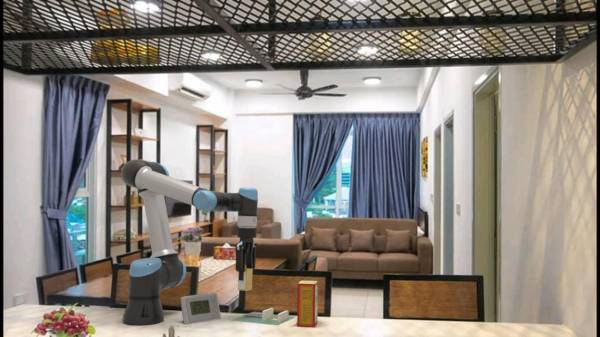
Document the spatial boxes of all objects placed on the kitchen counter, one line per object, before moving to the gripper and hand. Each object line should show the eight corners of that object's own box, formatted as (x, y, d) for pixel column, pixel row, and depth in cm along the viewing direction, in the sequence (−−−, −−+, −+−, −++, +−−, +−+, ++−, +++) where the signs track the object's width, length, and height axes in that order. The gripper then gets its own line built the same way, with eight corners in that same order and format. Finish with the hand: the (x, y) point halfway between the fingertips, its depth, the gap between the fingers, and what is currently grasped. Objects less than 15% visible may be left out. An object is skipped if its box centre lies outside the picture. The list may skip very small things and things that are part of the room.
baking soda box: (300, 321, 188) (301, 279, 189) (317, 322, 187) (317, 279, 189) (297, 326, 178) (297, 282, 180) (314, 327, 178) (315, 283, 179)
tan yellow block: (237, 290, 186) (238, 268, 186) (243, 288, 189) (243, 267, 190) (246, 290, 184) (247, 268, 185) (252, 289, 188) (252, 267, 188)
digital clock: (183, 328, 174) (184, 298, 175) (175, 323, 182) (176, 294, 183) (225, 323, 183) (225, 294, 184) (215, 319, 191) (216, 291, 192)
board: (229, 323, 183) (230, 310, 183) (251, 315, 198) (251, 303, 199) (277, 328, 175) (277, 315, 175) (296, 319, 190) (296, 307, 191)
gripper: (244, 227, 180) (242, 292, 177) (265, 227, 195) (263, 286, 193) (227, 227, 183) (224, 290, 180) (249, 226, 198) (247, 284, 196)
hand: (244, 288), depth 187 cm, fingers closed on tan yellow block, 4 cm apart
